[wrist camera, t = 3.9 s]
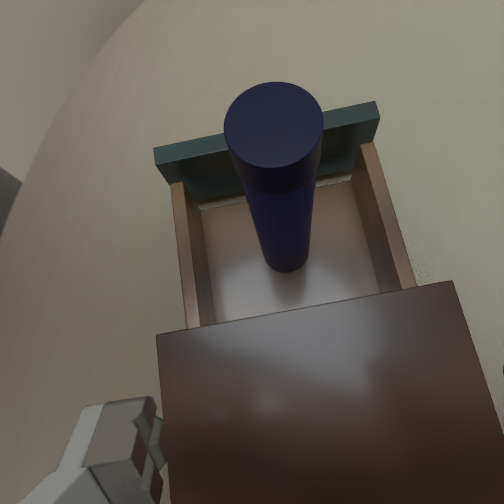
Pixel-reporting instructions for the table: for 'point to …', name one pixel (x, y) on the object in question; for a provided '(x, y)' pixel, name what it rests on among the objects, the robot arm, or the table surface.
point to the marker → (277, 166)
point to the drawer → (321, 238)
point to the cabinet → (333, 406)
